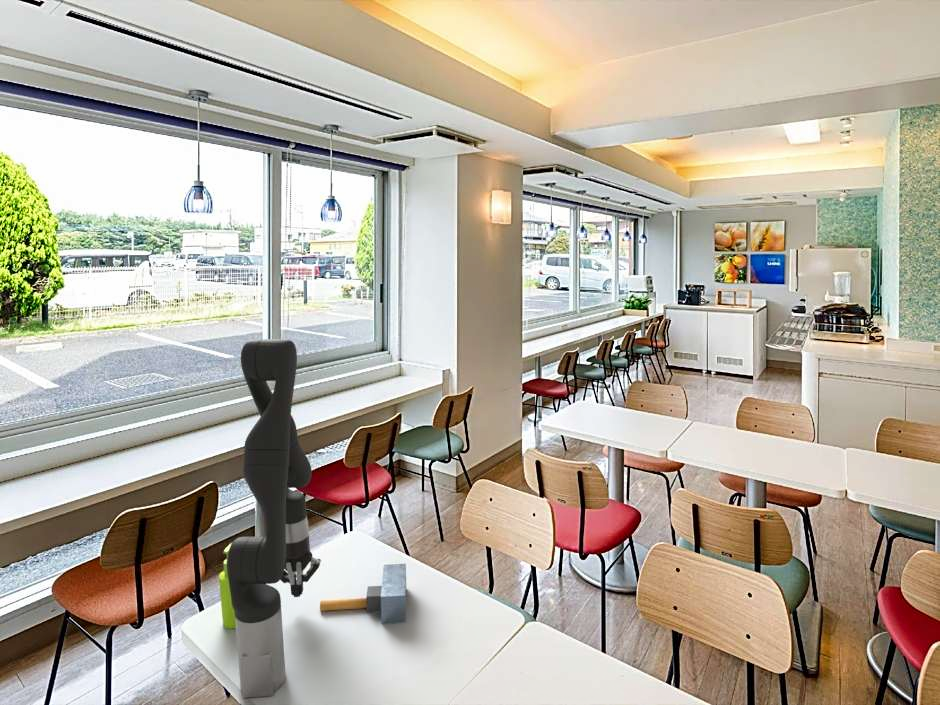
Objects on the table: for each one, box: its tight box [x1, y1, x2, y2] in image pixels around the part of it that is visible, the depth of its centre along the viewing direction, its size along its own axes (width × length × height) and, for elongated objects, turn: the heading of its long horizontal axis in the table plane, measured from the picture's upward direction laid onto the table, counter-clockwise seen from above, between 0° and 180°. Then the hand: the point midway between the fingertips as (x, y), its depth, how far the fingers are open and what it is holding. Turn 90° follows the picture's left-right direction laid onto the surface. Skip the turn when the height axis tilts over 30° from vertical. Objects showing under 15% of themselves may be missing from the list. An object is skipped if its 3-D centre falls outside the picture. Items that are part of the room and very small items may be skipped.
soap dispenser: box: [218, 542, 236, 630], centre depth 142 cm, size 6×7×20 cm
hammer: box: [319, 585, 382, 613], centre depth 148 cm, size 4×17×4 cm, turn 96°
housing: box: [380, 563, 407, 625], centre depth 149 cm, size 14×6×8 cm, turn 6°
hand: (297, 595), depth 147 cm, fingers closed
